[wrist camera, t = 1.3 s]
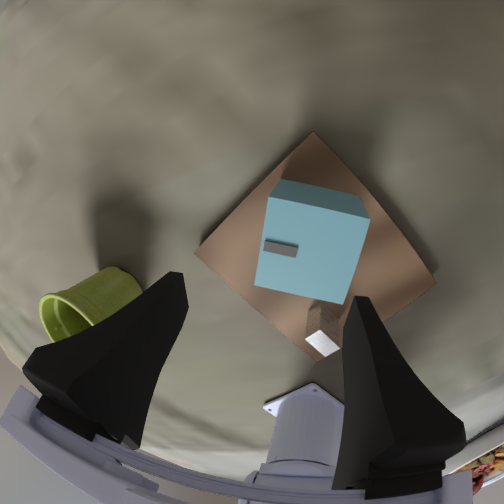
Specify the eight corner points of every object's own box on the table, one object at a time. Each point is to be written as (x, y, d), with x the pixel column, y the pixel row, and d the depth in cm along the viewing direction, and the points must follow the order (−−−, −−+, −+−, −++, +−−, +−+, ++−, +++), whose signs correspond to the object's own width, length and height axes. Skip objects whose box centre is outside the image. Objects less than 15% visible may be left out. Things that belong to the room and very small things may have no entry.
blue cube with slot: (358, 195, 18) (370, 220, 14) (339, 265, 21) (343, 306, 16) (280, 178, 19) (267, 197, 14) (268, 249, 21) (253, 286, 17)
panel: (432, 275, 20) (436, 283, 19) (317, 353, 26) (317, 361, 25) (313, 131, 18) (313, 131, 17) (199, 246, 24) (193, 253, 23)
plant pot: (126, 237, 25) (65, 283, 18) (176, 317, 28) (135, 377, 21) (78, 266, 29) (28, 306, 21) (121, 331, 32) (82, 378, 24)
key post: (339, 319, 23) (340, 348, 20) (326, 327, 23) (325, 356, 20) (320, 301, 22) (319, 329, 19) (307, 310, 23) (304, 339, 20)
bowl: (454, 431, 29) (461, 471, 22) (569, 384, 21) (581, 412, 14) (413, 487, 41) (413, 514, 34) (511, 456, 32) (516, 478, 25)
